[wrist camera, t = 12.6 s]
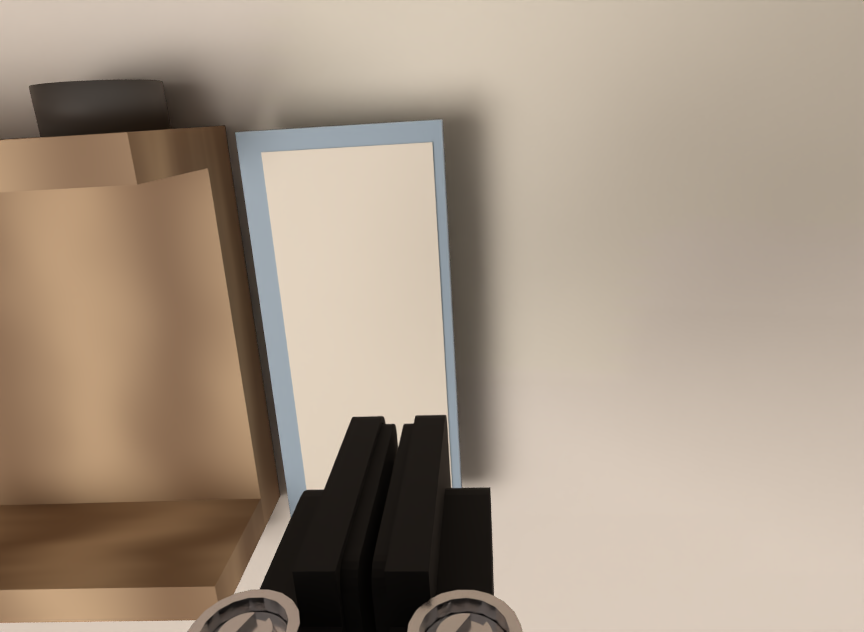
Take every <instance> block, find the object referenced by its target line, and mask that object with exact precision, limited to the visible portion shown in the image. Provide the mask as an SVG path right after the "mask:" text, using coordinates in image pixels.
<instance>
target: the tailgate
mask: <svg viewBox="0 0 864 632" xmlns="http://www.w3.org/2000/svg"><path fill="white" fill-rule="evenodd" d="M235 135H236V142H237V149H238V156H239V163H240V170H241V177H242V184H243V191H244V197H245V204H246V211H247V218H248V225H249V232H250V239H251V246H252V253H253V259H254V266H255V273H256V280H257V287H258V294H259V301H260V308H261V315H262V321H263V328H264V335H265V342H266V349H267V356H268V363H269V370H270V377H271V383H272V390H273V397H274V404H275V411H276V418H277V425H278V432H279V439H280V445H281V452H282V459H283V466H284V473H285V480H286V487H287V494H288V501H289V507H290V514H291V517H292V515H293V512H294V510H295V508H296V505H297V503H298V501H299V499H300V496H301V495H302V493H303V492H304V491H305V490H322V489H324V488H325V485H326V483H327V480H328V478H329V475H330V473H331V470H332V467H333V465H334V462H335V460H336V457H337V455H338V452H339V449H340V447H341V444H342V442H343V439H344V437H345V434H346V431H347V429H348V426H349V424H350V421H351V419H352V417H366V416H383V417H384V418H385V423H386V424H395V425H396V430H397V440H398V446H399V442H400V437H401V433H402V428H403V425H404V424H412V423H414V419H415V416H416V415H446V417H447V427H448V444H449V461H450V477H451V488H462V479H461V460H460V441H459V421H458V402H457V383H456V364H455V345H454V326H453V307H452V288H451V269H450V250H449V230H448V211H447V192H446V173H445V154H444V135H443V119H436V120H420V121H403V122H387V123H371V124H355V125H339V126H322V127H306V128H290V129H274V130H258V131H244V132H235Z"/></svg>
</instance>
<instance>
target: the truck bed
mask: <svg viewBox="0 0 864 632" xmlns="http://www.w3.org/2000/svg"><path fill="white" fill-rule="evenodd" d="M29 89H30V94H31V98H32V102H33V107H34V111H35V115H36V120H37V124H38V128H39V132H40V137H34V138H18V139H2V140H0V623H19V622H94V621H169V620H197V619H198V618H199V617H200V616H201V614H202V613H203V612H204V611H205V610H207V609H208V608H210V607H211V606H212V605H214V604H215V603H217V602H218V601H220V600H222V599H224V598H226V597H229V596H231V595H233V594H234V592H235V590H236V588H237V586H238V584H239V582H240V580H241V577H242V575H243V573H244V571H245V569H246V567H247V565H248V563H249V561H250V558H251V556H252V554H253V552H254V550H255V548H256V546H257V544H258V542H259V540H260V537H261V535H262V533H263V531H264V529H265V527H266V525H267V523H268V521H269V518H270V516H271V514H272V512H273V510H274V508H275V506H276V504H277V502H278V500H279V497H280V492H279V485H278V478H277V472H276V465H275V458H274V452H273V445H272V438H271V431H270V425H269V418H268V411H267V405H266V398H265V391H264V385H263V378H262V371H261V364H260V358H259V351H258V344H257V338H256V331H255V324H254V318H253V311H252V304H251V298H250V291H249V284H248V277H247V271H246V264H245V257H244V251H243V244H242V237H241V231H240V224H239V217H238V210H237V204H236V197H235V190H234V184H233V177H232V170H231V164H230V157H229V150H228V143H227V137H226V130H225V126H210V127H194V128H178V129H171V128H170V122H169V116H168V111H167V105H166V99H165V93H164V87H163V82H162V81H157V80H93V81H72V82H57V83H45V84H37V85H31V86H29Z"/></svg>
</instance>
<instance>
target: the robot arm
mask: <svg viewBox="0 0 864 632" xmlns="http://www.w3.org/2000/svg"><path fill="white" fill-rule="evenodd" d="M187 632H523V631H522V627H521V624H520V622H519V620H518V618H517V616H516V614H515V612H514V611H513V610H512V609H511V608H510V607H509V606H508V605H507V604H506V603H505V602H504V601H502V600H500V599H498V598H497V597H495V596H494V583H493V550H492V521H491V495H490V488H451V477H450V461H449V444H448V427H447V417H446V415H416V416H415V419H414V423H412V424H404V425H403V428H402V433H401V437H400V442H399V446H398V440H397V430H396V425H395V424H386V423H385V418H384V417H383V416H366V417H352V419H351V421H350V424H349V426H348V429H347V431H346V434H345V437H344V439H343V442H342V444H341V447H340V449H339V452H338V455H337V457H336V460H335V462H334V465H333V467H332V470H331V473H330V475H329V478H328V480H327V483H326V485H325V488H324V489H322V490H305V491H304V492H303V493H302V495H301V496H300V499H299V501H298V503H297V505H296V508H295V510H294V512H293V515H292V517H291V519H290V521H289V524H288V526H287V528H286V531H285V533H284V535H283V537H282V540H281V542H280V544H279V547H278V549H277V551H276V553H275V556H274V558H273V560H272V562H271V565H270V567H269V569H268V572H267V574H266V576H265V578H264V581H263V583H262V585H261V588H260V590H249V591H244V592H240V593H236V594H233V595H231V596H229V597H226V598H224V599H222V600H220V601H218V602H217V603H215V604H214V605H212V606H211V607H210V608H208V609H207V610H205V611H204V612H203V613H202V614H201V616H200V617H199V618H198V619H197V620H196V621H195V622H194V623H193V624H192V626H191V627H190V629H189V630H188V631H187Z"/></svg>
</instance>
